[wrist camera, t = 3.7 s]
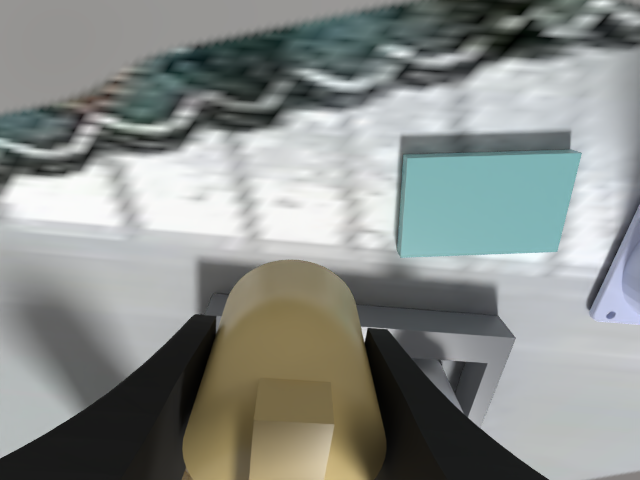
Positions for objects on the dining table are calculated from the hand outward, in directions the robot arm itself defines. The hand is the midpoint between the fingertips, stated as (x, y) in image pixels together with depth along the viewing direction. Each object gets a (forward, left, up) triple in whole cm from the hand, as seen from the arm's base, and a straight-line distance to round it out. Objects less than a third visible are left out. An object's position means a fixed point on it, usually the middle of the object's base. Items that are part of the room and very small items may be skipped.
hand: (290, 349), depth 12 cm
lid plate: (-9, -3, -9) cm, 13 cm away
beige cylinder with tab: (0, 0, -2) cm, 2 cm away
